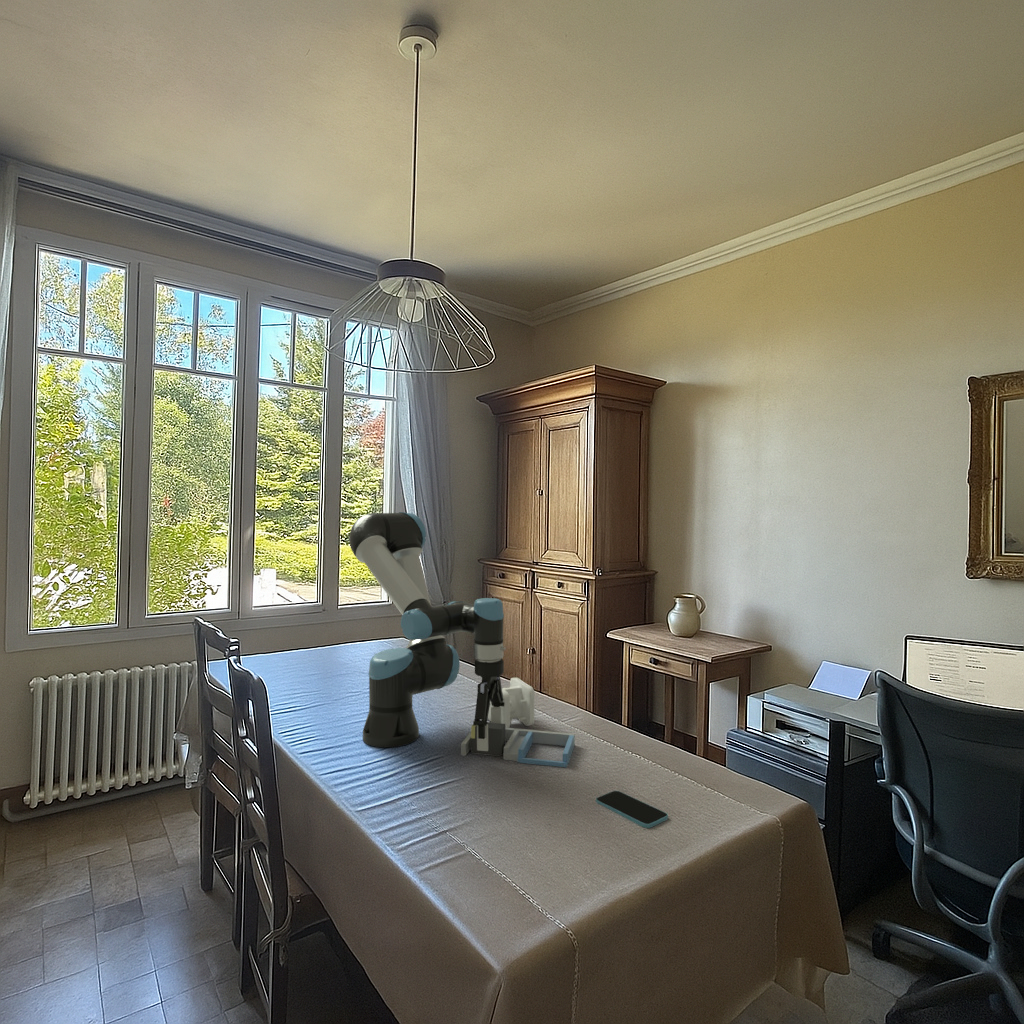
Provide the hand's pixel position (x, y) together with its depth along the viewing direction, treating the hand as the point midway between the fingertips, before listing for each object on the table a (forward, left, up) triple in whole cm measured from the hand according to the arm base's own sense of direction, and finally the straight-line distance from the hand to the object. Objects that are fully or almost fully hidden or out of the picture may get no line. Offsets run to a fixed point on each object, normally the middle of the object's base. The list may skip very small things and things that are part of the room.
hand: (489, 740), depth 167 cm
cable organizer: (0, +21, -3) cm, 22 cm away
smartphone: (+37, -22, -4) cm, 43 cm away
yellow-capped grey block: (0, 0, -3) cm, 3 cm away
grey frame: (+7, +3, -3) cm, 8 cm away
